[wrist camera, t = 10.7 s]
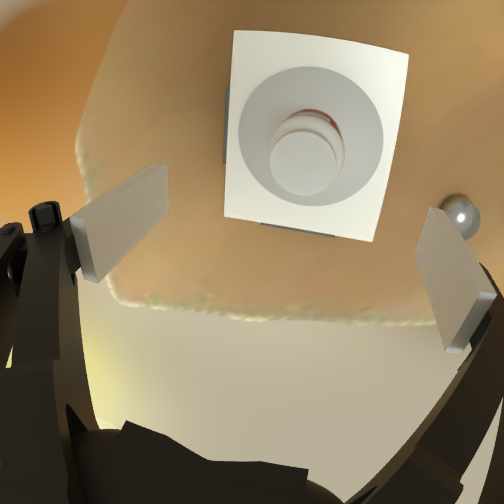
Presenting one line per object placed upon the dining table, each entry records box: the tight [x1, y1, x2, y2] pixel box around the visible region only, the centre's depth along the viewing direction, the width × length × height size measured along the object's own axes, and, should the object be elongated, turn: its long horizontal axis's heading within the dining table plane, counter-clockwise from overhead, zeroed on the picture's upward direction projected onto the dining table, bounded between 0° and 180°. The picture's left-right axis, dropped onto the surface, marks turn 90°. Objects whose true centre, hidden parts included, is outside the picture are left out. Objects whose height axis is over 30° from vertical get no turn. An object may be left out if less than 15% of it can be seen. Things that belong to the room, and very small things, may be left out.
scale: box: [223, 30, 409, 242], centre depth 32 cm, size 22×18×4 cm
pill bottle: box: [267, 109, 345, 196], centre depth 26 cm, size 6×6×11 cm
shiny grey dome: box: [440, 194, 480, 240], centre depth 33 cm, size 5×5×3 cm
